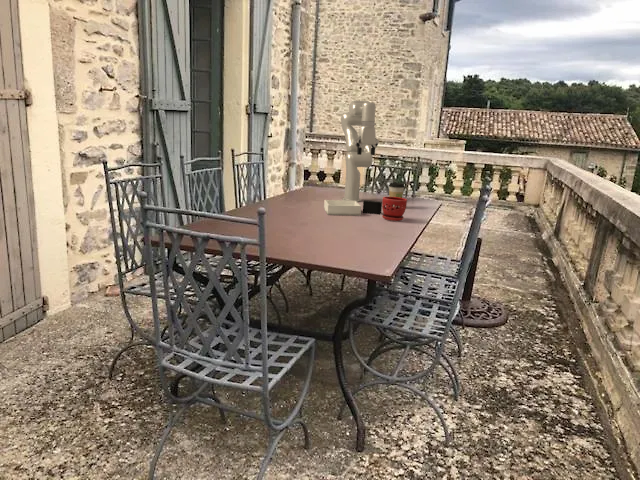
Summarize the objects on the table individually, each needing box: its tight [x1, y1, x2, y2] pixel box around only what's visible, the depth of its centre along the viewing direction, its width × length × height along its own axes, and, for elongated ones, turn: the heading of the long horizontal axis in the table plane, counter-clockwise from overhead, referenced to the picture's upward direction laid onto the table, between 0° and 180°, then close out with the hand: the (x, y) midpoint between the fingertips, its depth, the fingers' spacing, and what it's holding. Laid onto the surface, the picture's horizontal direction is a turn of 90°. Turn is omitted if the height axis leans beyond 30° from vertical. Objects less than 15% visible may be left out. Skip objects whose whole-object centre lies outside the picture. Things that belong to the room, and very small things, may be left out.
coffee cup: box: [388, 181, 406, 207], centre depth 300 cm, size 10×10×15 cm
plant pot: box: [381, 196, 408, 222], centre depth 264 cm, size 13×13×12 cm
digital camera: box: [362, 199, 383, 216], centre depth 280 cm, size 10×5×7 cm, turn 75°
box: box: [323, 199, 362, 217], centre depth 277 cm, size 17×19×6 cm
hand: (366, 154), depth 283 cm, fingers open, 9 cm apart
